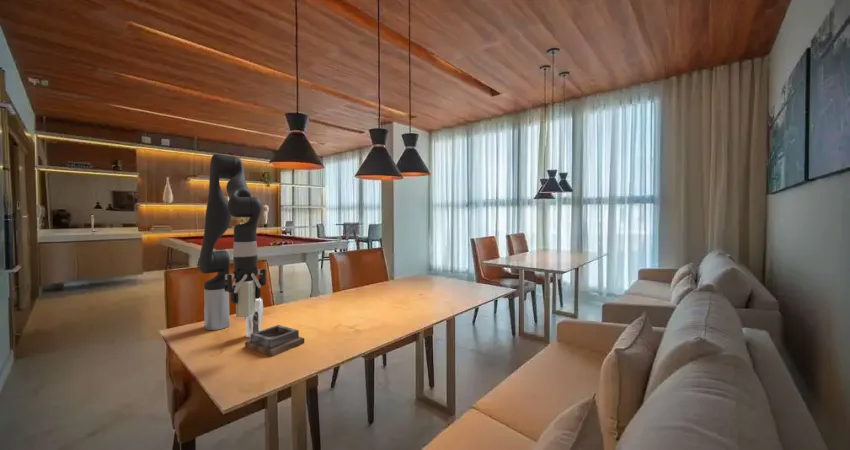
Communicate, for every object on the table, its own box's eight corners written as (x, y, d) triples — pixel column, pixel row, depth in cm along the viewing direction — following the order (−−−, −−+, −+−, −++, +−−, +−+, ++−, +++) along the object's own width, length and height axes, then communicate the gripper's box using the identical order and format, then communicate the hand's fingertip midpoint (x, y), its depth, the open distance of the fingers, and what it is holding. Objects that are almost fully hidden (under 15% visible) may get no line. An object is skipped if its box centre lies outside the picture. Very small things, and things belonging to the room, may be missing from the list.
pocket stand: (245, 346, 131) (244, 333, 131) (277, 335, 143) (277, 323, 143) (272, 356, 123) (272, 342, 123) (304, 343, 135) (304, 330, 135)
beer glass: (255, 339, 139) (255, 301, 138) (240, 337, 140) (239, 300, 139) (267, 333, 145) (266, 297, 145) (252, 331, 147) (251, 296, 146)
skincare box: (243, 311, 126) (243, 278, 125) (256, 311, 126) (256, 278, 125) (235, 317, 119) (235, 282, 119) (248, 317, 120) (248, 282, 119)
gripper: (258, 251, 130) (258, 295, 131) (218, 255, 117) (219, 303, 118) (270, 252, 126) (271, 298, 127) (231, 257, 114) (232, 307, 114)
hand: (246, 300), depth 122 cm, fingers closed on skincare box, 7 cm apart
